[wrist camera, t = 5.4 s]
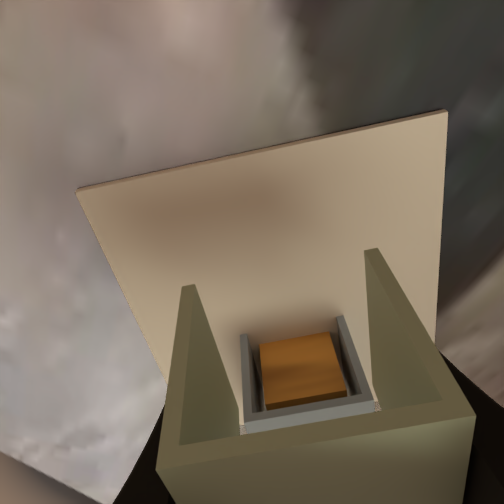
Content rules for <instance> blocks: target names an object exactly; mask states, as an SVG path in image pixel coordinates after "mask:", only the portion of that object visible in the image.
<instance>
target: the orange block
mask: <svg viewBox="0 0 504 504" xmlns="http://www.w3.org/2000/svg"><path fill="white" fill-rule="evenodd" d="M259 348H260V359H261V369H262V379H263V390H264V400H265V406H266V410H267V411H269V410H274V409H280V408H286V407H291V406H297V405H303V404H308V403H314V402H320V401H325V400H331V399H337V398H342V397H347V389H346V386H345V383H344V379H343V376H342V373H341V370H340V366H339V363H338V360H337V356H336V353H335V350H334V346H333V343H332V340H331V337H330V333H329V331H328V332H323V333H317V334H312V335H307V336H301V337H296V338H291V339H285V340H280V341H275V342H269V343H264V344H259Z"/></svg>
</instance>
